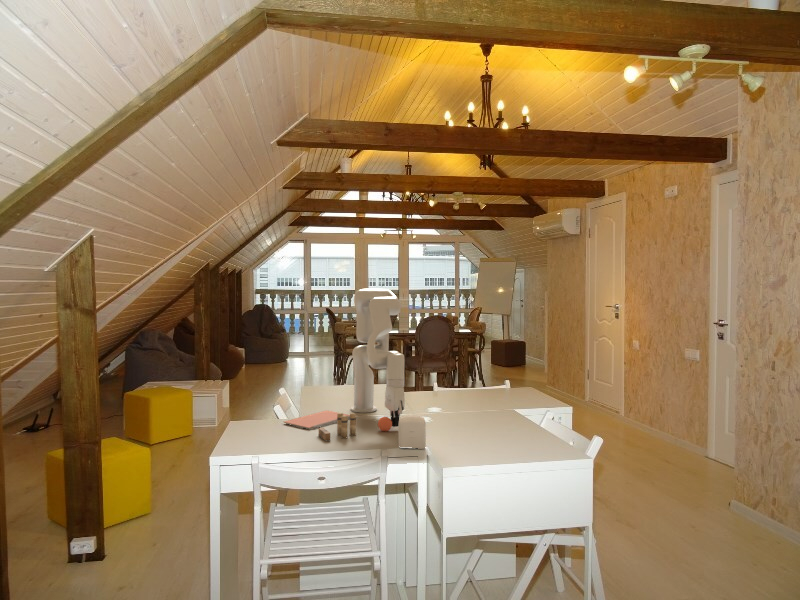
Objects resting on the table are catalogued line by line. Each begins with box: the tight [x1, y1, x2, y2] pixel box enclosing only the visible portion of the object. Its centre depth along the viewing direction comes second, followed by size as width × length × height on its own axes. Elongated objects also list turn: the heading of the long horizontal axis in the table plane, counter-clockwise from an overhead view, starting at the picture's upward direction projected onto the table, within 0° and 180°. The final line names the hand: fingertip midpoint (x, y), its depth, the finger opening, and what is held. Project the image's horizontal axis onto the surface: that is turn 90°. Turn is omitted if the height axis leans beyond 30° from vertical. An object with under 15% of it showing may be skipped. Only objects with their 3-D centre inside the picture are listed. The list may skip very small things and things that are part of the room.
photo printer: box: [397, 414, 427, 450], centre depth 200 cm, size 10×4×12 cm, turn 89°
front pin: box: [349, 412, 357, 436], centre depth 217 cm, size 2×2×8 cm
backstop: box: [318, 427, 331, 441], centre depth 212 cm, size 9×2×3 cm, turn 26°
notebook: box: [283, 409, 350, 430], centre depth 238 cm, size 27×17×2 cm, turn 144°
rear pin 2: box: [340, 416, 349, 439], centre depth 213 cm, size 2×2×8 cm
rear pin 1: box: [336, 412, 344, 436], centre depth 217 cm, size 2×2×8 cm
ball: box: [377, 416, 392, 432], centre depth 223 cm, size 6×6×6 cm
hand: (395, 426), depth 225 cm, fingers closed
